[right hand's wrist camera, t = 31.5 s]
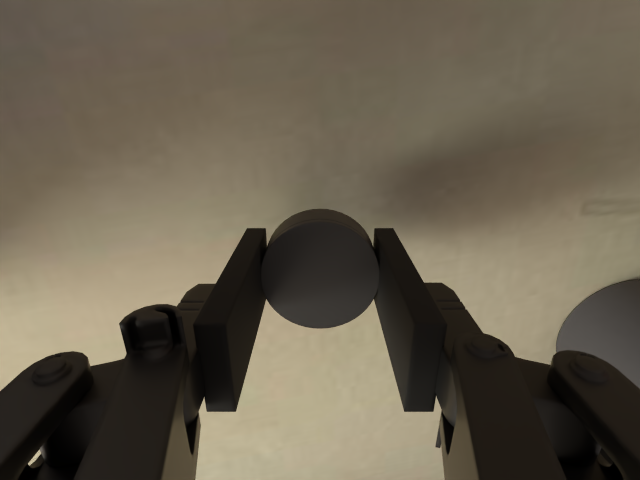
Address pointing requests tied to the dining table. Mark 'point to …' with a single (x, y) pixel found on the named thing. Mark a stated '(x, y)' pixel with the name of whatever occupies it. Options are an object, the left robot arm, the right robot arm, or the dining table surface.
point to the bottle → (607, 328)
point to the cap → (320, 269)
